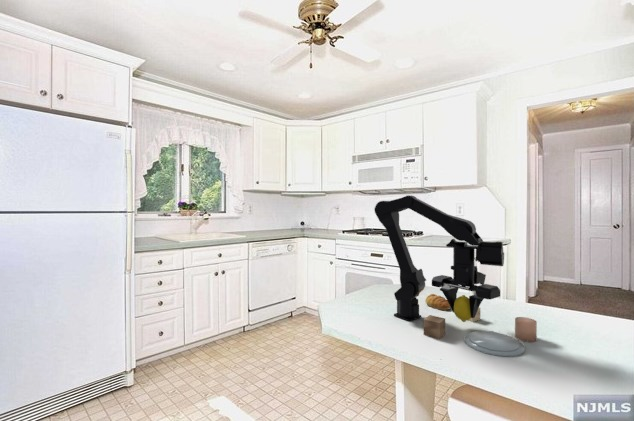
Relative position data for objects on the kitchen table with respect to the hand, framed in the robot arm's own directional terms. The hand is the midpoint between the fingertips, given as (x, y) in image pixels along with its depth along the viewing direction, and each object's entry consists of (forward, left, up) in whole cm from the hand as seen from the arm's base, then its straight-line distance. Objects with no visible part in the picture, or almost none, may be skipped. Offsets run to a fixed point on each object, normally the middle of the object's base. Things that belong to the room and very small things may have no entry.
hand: (463, 314), depth 97 cm
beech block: (-4, +9, -4) cm, 11 cm away
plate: (+11, -4, -4) cm, 12 cm away
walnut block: (-2, -11, -4) cm, 12 cm away
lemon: (0, 0, -2) cm, 2 cm away
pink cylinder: (+14, +7, -4) cm, 16 cm away
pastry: (-17, +12, -4) cm, 21 cm away
